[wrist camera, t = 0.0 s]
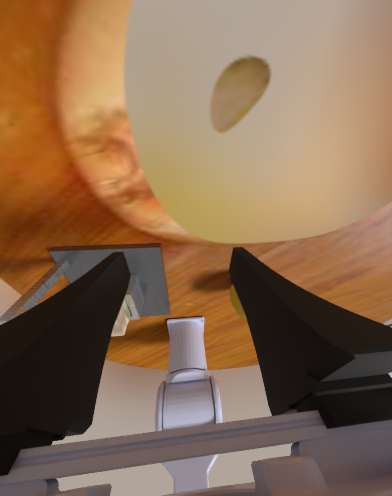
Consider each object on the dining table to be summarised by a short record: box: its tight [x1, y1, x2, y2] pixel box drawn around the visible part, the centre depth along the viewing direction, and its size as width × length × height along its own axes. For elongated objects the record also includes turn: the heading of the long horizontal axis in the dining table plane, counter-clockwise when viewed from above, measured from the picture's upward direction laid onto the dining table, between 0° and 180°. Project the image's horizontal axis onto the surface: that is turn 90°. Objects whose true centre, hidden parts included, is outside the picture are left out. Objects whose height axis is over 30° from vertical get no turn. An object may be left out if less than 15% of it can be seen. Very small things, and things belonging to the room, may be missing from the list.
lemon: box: [230, 284, 247, 320], centre depth 23 cm, size 6×6×8 cm
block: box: [111, 299, 131, 336], centre depth 22 cm, size 4×4×6 cm
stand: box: [0, 243, 170, 325], centre depth 21 cm, size 16×14×9 cm
